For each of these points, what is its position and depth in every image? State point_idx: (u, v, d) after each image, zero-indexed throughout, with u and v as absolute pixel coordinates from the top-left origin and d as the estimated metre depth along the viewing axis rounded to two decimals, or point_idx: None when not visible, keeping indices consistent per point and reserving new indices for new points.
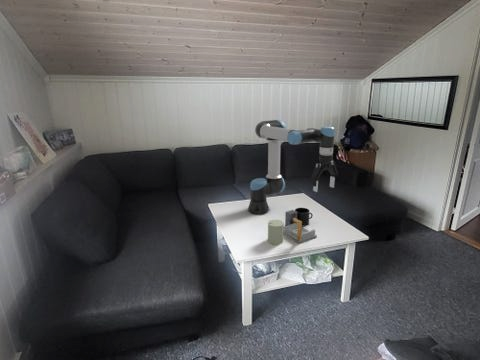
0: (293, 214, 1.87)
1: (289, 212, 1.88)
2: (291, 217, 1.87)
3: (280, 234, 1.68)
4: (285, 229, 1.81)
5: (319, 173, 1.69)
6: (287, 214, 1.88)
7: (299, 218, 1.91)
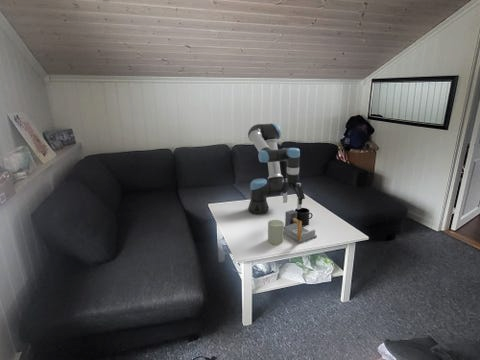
0: (293, 214, 1.87)
1: (289, 212, 1.88)
2: (291, 217, 1.87)
3: (280, 234, 1.68)
4: (285, 229, 1.81)
5: (285, 187, 1.88)
6: (287, 214, 1.88)
7: (299, 218, 1.91)
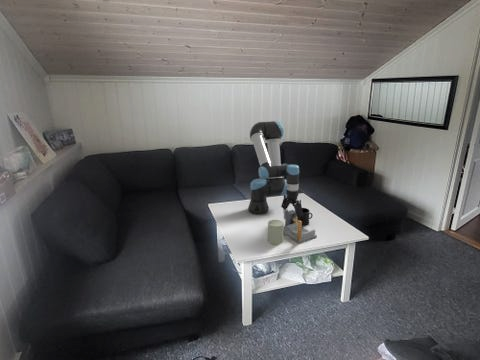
0: (293, 214, 1.87)
1: (289, 212, 1.88)
2: (291, 217, 1.87)
3: (280, 234, 1.68)
4: (285, 229, 1.81)
5: (285, 203, 1.91)
6: (287, 214, 1.88)
7: None
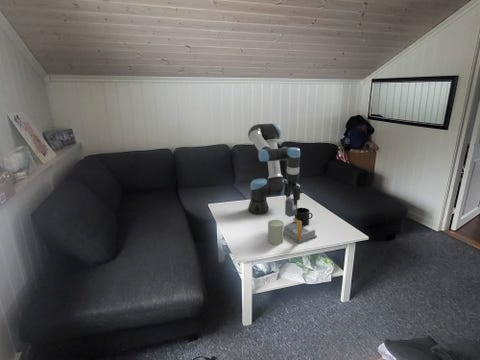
0: None
1: (289, 200, 1.86)
2: (290, 206, 1.85)
3: (280, 234, 1.68)
4: (285, 229, 1.81)
5: (287, 189, 1.87)
6: (287, 202, 1.86)
7: (299, 218, 1.91)
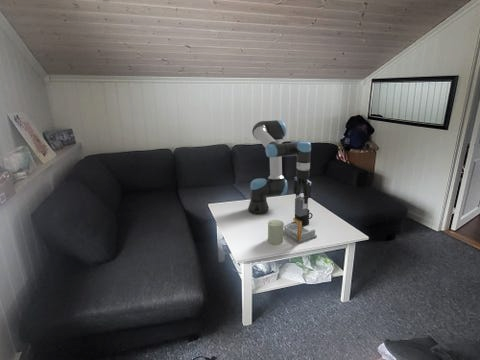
0: None
1: (299, 199, 1.73)
2: (301, 204, 1.71)
3: (280, 234, 1.68)
4: (285, 229, 1.81)
5: (297, 187, 1.74)
6: (297, 201, 1.72)
7: (299, 218, 1.91)
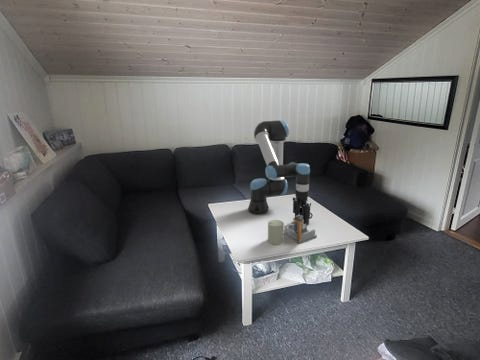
0: None
1: (298, 218, 1.76)
2: None
3: (280, 234, 1.68)
4: (285, 229, 1.81)
5: (296, 207, 1.77)
6: None
7: None
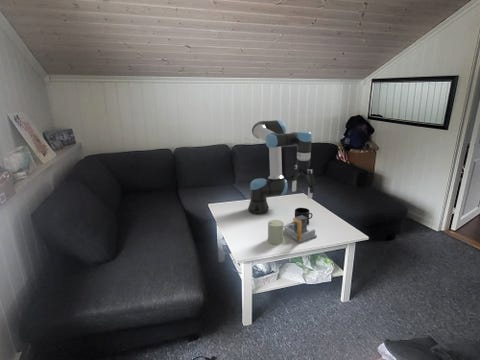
0: (303, 220, 1.75)
1: (298, 218, 1.76)
2: None
3: (280, 234, 1.68)
4: (285, 229, 1.81)
5: (294, 174, 1.74)
6: None
7: None
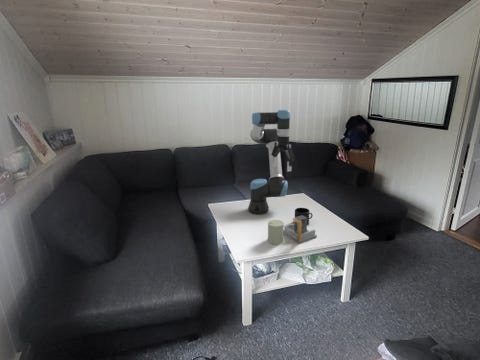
0: (303, 220, 1.75)
1: (298, 218, 1.76)
2: None
3: (280, 234, 1.68)
4: (285, 229, 1.81)
5: (276, 150, 1.89)
6: None
7: None
